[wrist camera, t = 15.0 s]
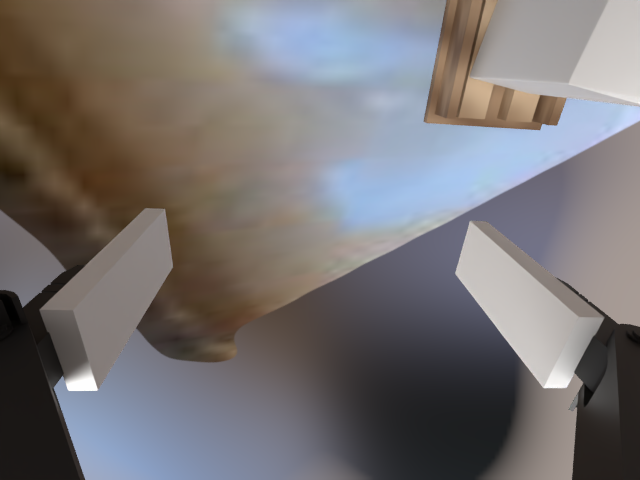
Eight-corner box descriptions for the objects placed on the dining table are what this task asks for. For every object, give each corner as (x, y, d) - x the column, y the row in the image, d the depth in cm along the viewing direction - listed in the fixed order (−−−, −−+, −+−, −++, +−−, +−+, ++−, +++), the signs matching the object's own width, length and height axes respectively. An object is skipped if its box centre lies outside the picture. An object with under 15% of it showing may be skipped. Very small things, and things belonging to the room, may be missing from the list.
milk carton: (467, 77, 36) (617, 87, 20) (497, -2, 33) (705, -72, 17) (527, 93, 38) (718, 116, 21) (561, 18, 35) (816, -28, 18)
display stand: (456, -49, 34) (477, -64, 30) (588, -35, 35) (626, -48, 31) (423, 121, 41) (437, 127, 37) (534, 128, 42) (559, 135, 38)
